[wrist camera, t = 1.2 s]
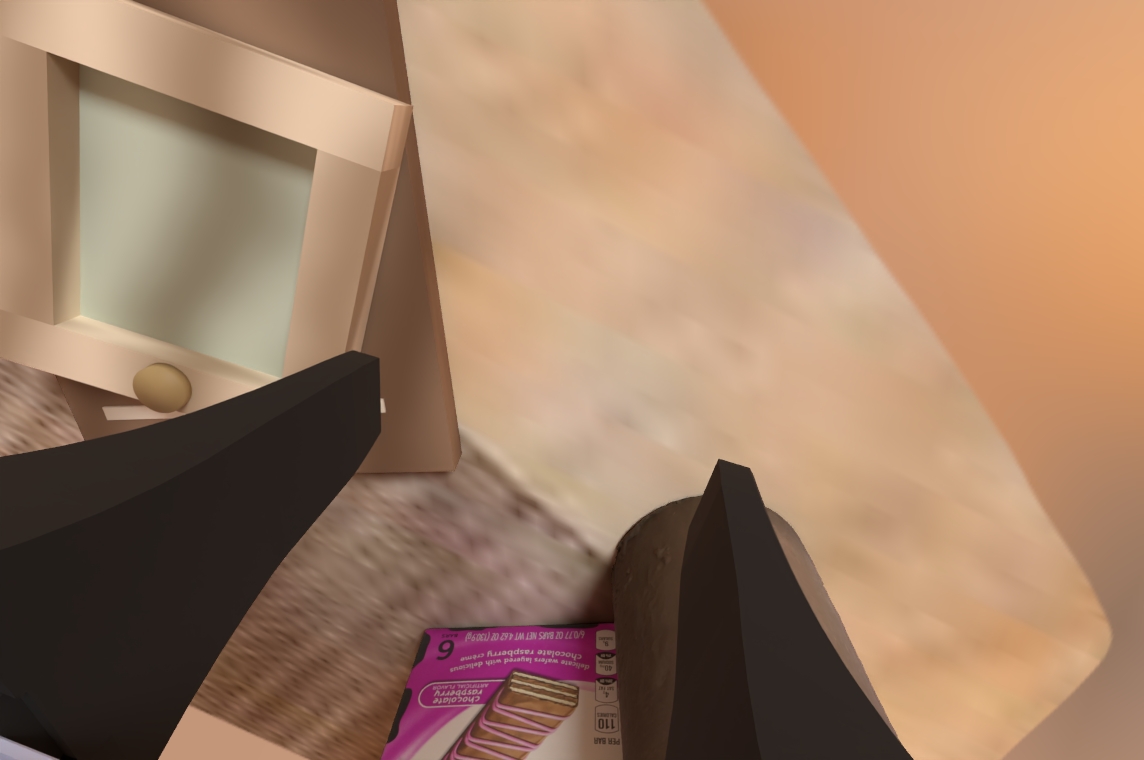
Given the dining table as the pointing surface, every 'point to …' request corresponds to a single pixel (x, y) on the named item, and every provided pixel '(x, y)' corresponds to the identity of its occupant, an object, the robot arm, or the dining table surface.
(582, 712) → the candy bar box
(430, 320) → the walnut board
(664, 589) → the pillar candle
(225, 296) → the cabinet door with knob
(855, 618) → the dining table surface
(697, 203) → the dining table surface
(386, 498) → the dining table surface
